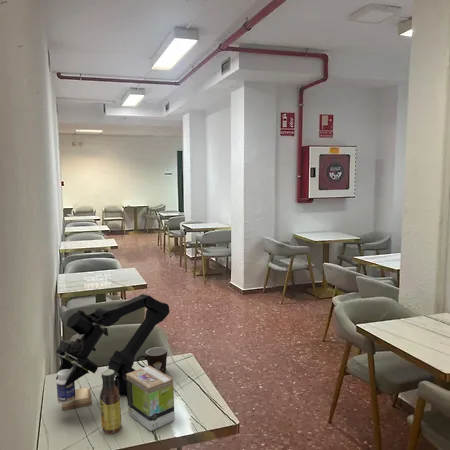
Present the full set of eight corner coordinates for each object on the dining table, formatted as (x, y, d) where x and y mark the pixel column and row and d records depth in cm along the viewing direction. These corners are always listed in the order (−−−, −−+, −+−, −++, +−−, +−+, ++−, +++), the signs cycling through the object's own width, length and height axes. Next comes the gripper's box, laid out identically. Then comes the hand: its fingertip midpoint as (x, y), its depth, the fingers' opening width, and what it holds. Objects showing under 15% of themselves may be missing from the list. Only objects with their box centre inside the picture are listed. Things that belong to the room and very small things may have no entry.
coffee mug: (171, 370, 182) (170, 347, 181) (163, 380, 174) (162, 356, 173) (145, 368, 185) (144, 346, 184) (136, 378, 176) (135, 354, 175)
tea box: (176, 420, 146) (174, 378, 144) (150, 432, 139) (147, 388, 137) (152, 403, 157) (149, 363, 155) (127, 413, 150) (124, 373, 149)
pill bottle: (69, 404, 145) (67, 376, 143) (54, 403, 146) (52, 375, 145) (79, 396, 150) (76, 368, 149) (64, 394, 151) (61, 367, 150)
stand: (90, 391, 166) (90, 385, 166) (91, 404, 157) (91, 398, 157) (62, 397, 163) (62, 391, 163) (62, 410, 154) (61, 404, 153)
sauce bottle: (104, 424, 144) (100, 367, 142) (123, 423, 145) (119, 366, 142) (100, 436, 138) (95, 376, 135) (120, 434, 138) (116, 375, 136)
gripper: (59, 324, 154) (30, 364, 148) (86, 336, 142) (57, 381, 135) (81, 338, 161) (54, 378, 154) (109, 351, 148) (82, 395, 142)
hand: (61, 382), depth 146 cm, fingers closed on pill bottle, 6 cm apart
